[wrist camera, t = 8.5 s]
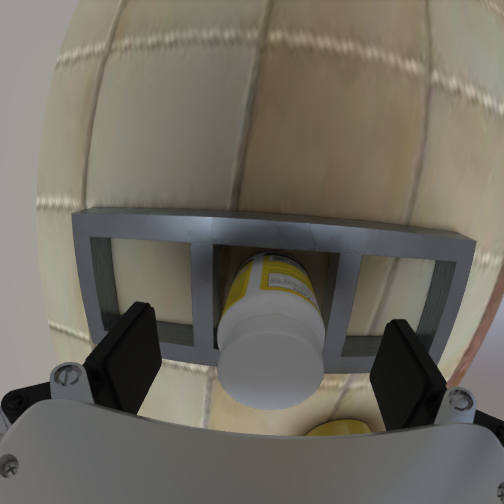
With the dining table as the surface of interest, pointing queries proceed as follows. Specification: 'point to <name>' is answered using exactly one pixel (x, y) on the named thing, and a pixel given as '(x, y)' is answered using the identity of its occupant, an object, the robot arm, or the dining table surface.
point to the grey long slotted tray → (269, 236)
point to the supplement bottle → (271, 334)
